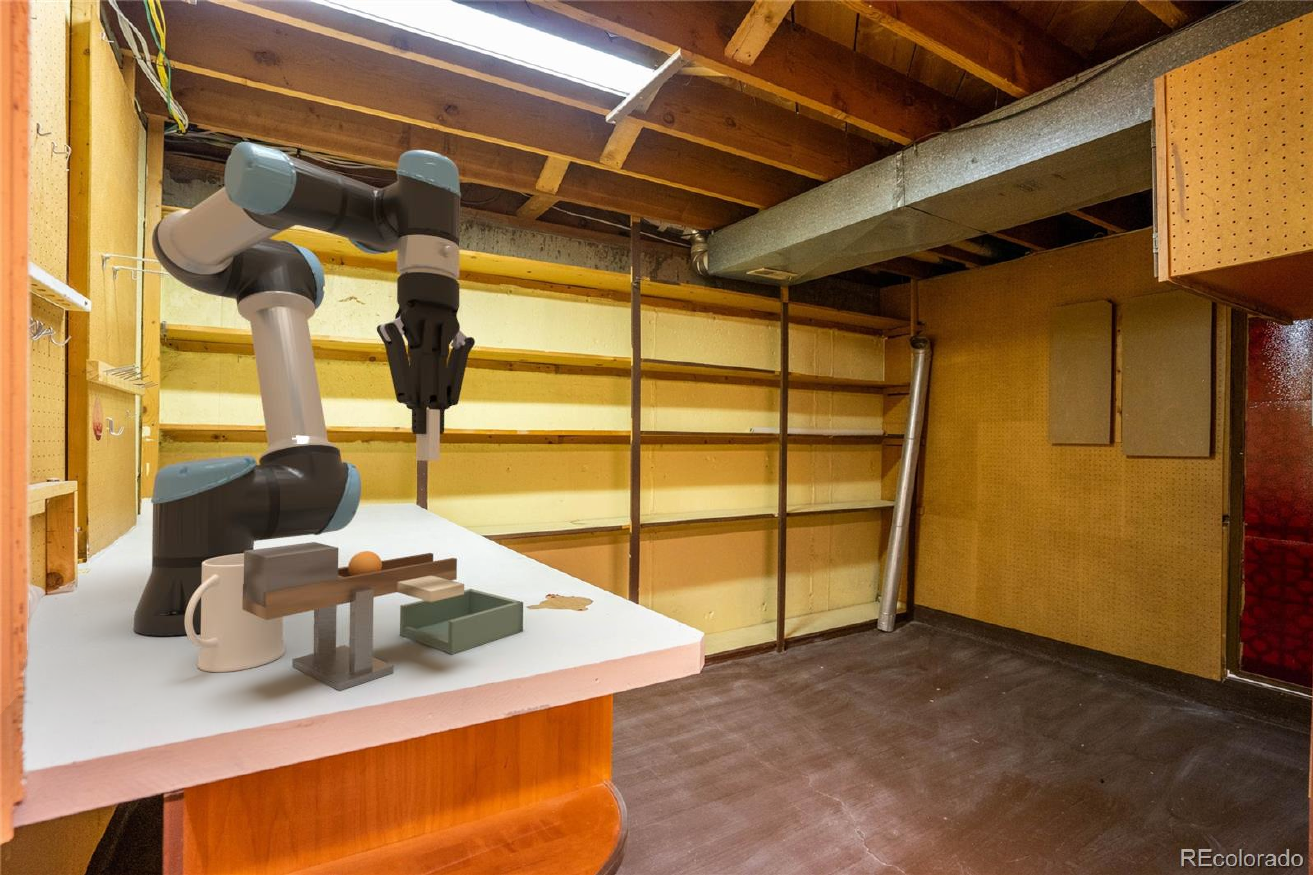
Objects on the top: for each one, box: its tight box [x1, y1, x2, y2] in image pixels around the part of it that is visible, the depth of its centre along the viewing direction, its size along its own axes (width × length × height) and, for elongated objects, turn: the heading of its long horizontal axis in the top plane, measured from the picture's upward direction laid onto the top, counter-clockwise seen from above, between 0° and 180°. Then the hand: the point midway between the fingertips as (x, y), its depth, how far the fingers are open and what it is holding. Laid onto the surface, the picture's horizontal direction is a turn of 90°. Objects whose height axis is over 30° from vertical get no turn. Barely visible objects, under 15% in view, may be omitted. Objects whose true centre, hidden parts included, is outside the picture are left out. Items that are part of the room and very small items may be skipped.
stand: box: [291, 587, 394, 692], centre depth 67 cm, size 11×6×10 cm, turn 54°
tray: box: [399, 588, 524, 655], centre depth 80 cm, size 12×11×4 cm
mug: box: [185, 553, 286, 673], centre depth 69 cm, size 12×8×12 cm
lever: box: [242, 541, 465, 620], centre depth 67 cm, size 13×22×6 cm, turn 144°
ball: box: [347, 550, 382, 576], centre depth 69 cm, size 4×4×4 cm
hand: (428, 460), depth 75 cm, fingers closed
